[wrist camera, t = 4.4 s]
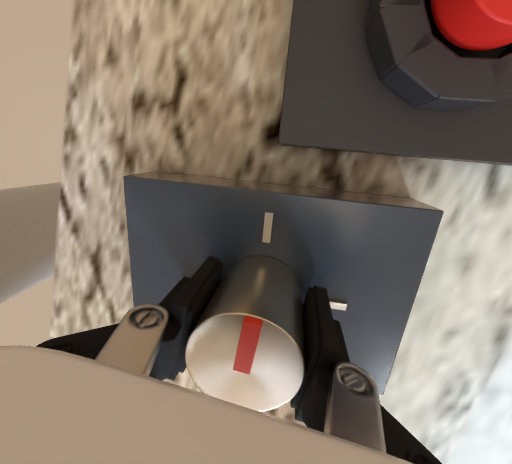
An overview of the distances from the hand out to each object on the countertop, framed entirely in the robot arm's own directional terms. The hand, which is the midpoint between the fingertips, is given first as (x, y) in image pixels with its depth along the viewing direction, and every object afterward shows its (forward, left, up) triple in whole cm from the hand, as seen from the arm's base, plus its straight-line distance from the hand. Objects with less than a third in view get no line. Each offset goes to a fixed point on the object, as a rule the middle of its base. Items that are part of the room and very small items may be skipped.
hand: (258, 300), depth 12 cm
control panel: (0, 0, -4) cm, 4 cm away
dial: (0, 0, -1) cm, 1 cm away
